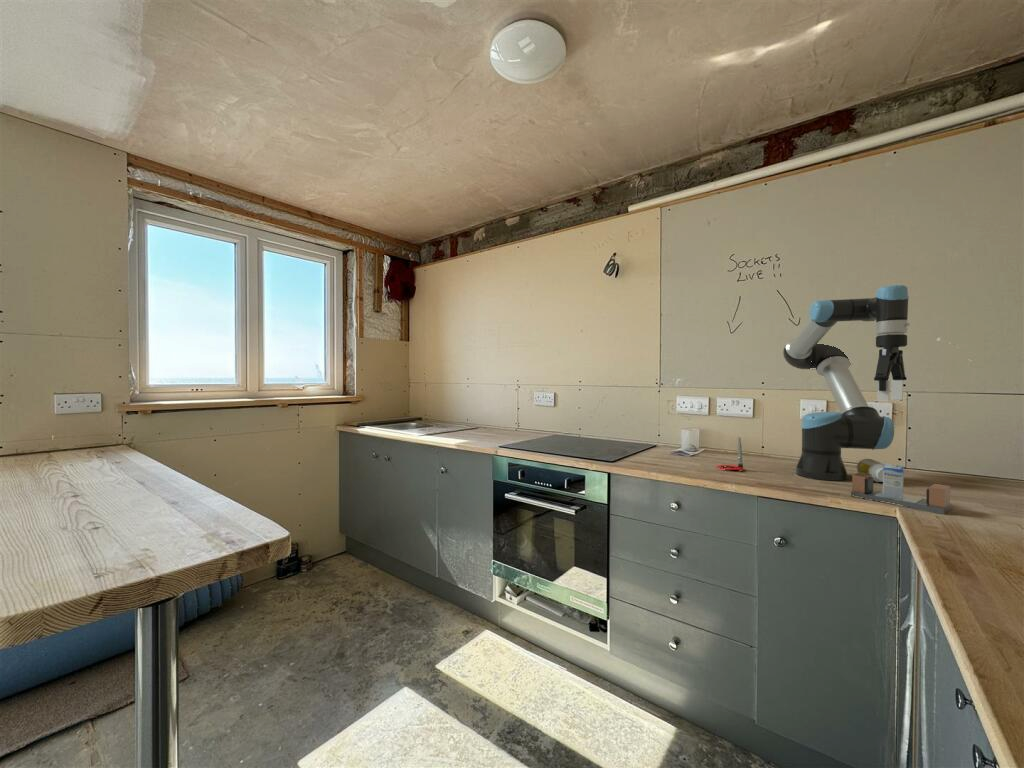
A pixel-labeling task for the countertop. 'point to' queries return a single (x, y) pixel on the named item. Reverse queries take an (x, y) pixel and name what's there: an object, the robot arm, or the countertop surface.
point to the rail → (933, 503)
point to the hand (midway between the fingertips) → (890, 400)
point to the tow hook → (740, 461)
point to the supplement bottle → (871, 469)
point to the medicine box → (893, 481)
